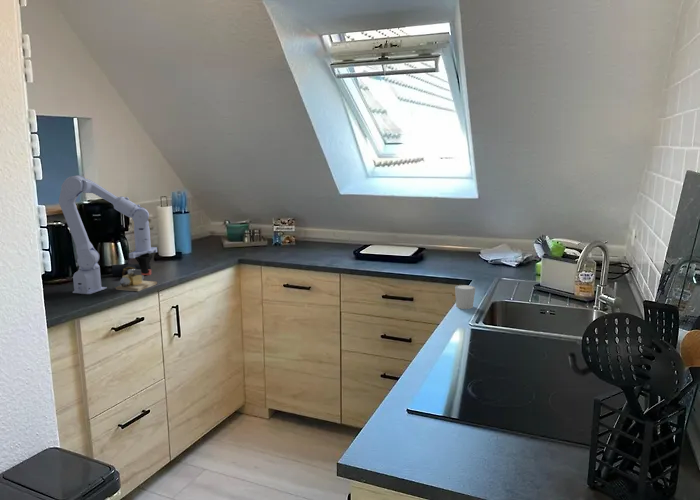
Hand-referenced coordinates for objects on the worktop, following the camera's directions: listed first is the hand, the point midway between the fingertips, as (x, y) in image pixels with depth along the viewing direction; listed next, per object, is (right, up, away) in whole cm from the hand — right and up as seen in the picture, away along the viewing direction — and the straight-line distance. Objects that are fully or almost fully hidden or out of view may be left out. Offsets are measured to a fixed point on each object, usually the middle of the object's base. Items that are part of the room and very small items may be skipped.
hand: (145, 273), depth 213 cm
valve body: (-6, -5, +2) cm, 8 cm away
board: (-4, -5, +2) cm, 7 cm away
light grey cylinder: (+120, -11, -26) cm, 124 cm away
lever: (-3, -1, +2) cm, 3 cm away
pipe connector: (-13, -3, +19) cm, 23 cm away
